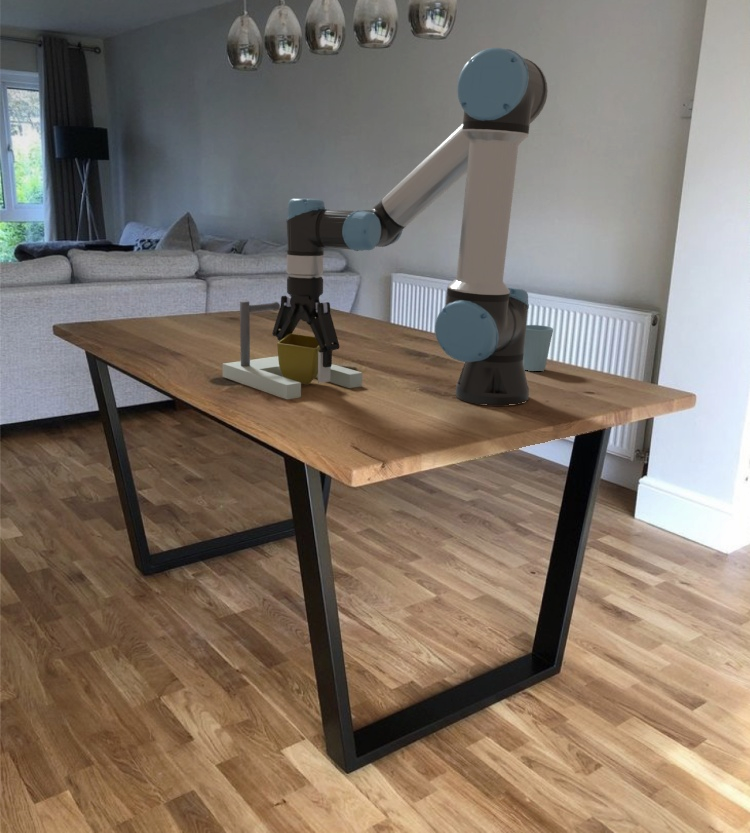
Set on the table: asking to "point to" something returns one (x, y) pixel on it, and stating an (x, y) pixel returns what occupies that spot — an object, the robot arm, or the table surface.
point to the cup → (536, 347)
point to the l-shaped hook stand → (274, 364)
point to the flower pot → (298, 357)
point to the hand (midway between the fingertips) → (304, 375)
